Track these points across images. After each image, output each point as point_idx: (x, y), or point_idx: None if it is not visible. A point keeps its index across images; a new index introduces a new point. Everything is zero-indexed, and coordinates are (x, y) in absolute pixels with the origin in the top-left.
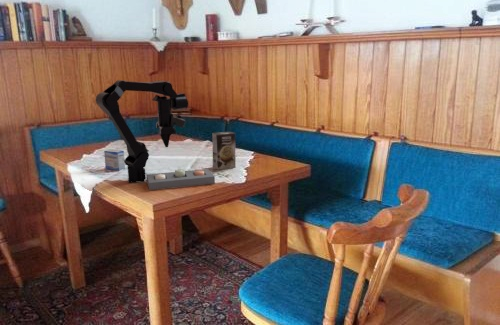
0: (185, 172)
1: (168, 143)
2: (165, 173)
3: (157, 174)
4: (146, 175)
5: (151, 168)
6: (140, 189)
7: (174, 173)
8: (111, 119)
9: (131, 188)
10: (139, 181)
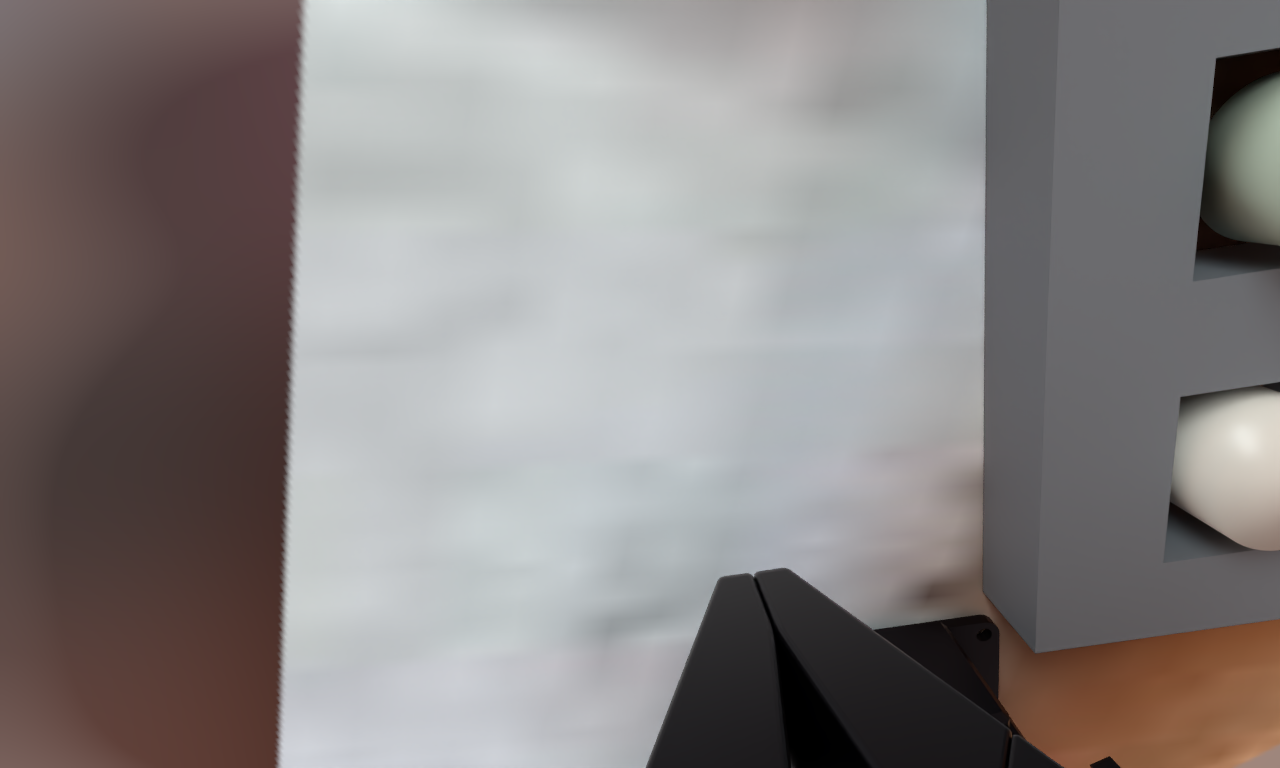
0: (1160, 51)
1: (869, 633)
2: (1081, 404)
3: (1091, 516)
4: (1039, 645)
5: (367, 582)
6: (1259, 629)
7: (1140, 259)
8: None
9: (1179, 713)
10: (994, 670)
